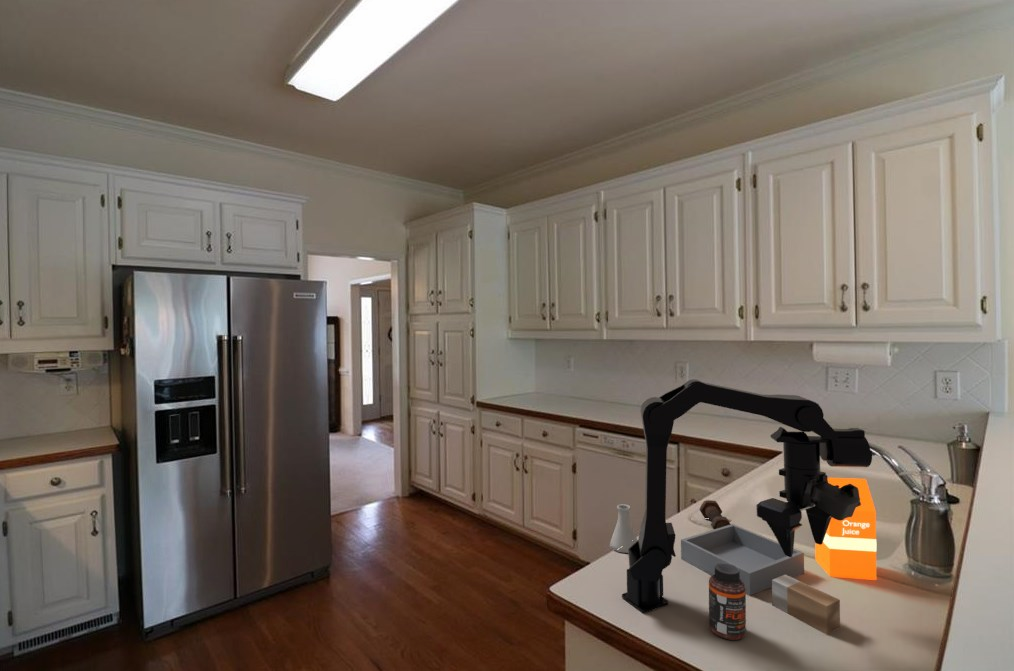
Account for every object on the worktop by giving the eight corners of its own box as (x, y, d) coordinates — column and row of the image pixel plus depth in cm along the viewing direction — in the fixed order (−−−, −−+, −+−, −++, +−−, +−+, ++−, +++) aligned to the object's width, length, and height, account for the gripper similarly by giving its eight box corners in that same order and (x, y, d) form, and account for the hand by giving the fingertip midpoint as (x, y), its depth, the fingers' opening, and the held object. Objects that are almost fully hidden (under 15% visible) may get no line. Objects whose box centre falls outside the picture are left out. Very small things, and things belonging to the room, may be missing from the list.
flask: (616, 538, 124) (615, 499, 124) (643, 545, 120) (643, 504, 120) (604, 549, 118) (603, 508, 118) (632, 556, 114) (632, 514, 114)
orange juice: (814, 559, 111) (813, 472, 110) (858, 562, 109) (857, 473, 108) (830, 577, 103) (829, 483, 103) (877, 580, 101) (876, 484, 101)
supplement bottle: (728, 646, 82) (727, 579, 82) (701, 626, 87) (700, 563, 87) (754, 636, 84) (753, 571, 84) (726, 617, 90) (725, 556, 90)
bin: (749, 595, 97) (749, 573, 96) (681, 558, 112) (680, 539, 112) (804, 573, 105) (803, 552, 104) (732, 541, 120) (732, 523, 120)
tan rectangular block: (826, 634, 84) (826, 606, 84) (772, 605, 93) (772, 579, 93) (840, 627, 86) (839, 599, 86) (785, 599, 95) (785, 574, 95)
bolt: (724, 548, 121) (707, 522, 136) (742, 539, 120) (723, 513, 135) (711, 528, 121) (696, 504, 136) (730, 519, 120) (712, 495, 135)
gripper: (817, 487, 78) (819, 583, 78) (878, 467, 86) (880, 554, 87) (753, 470, 88) (755, 556, 88) (814, 454, 96) (816, 532, 97)
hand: (804, 549), depth 90 cm, fingers open, 9 cm apart
